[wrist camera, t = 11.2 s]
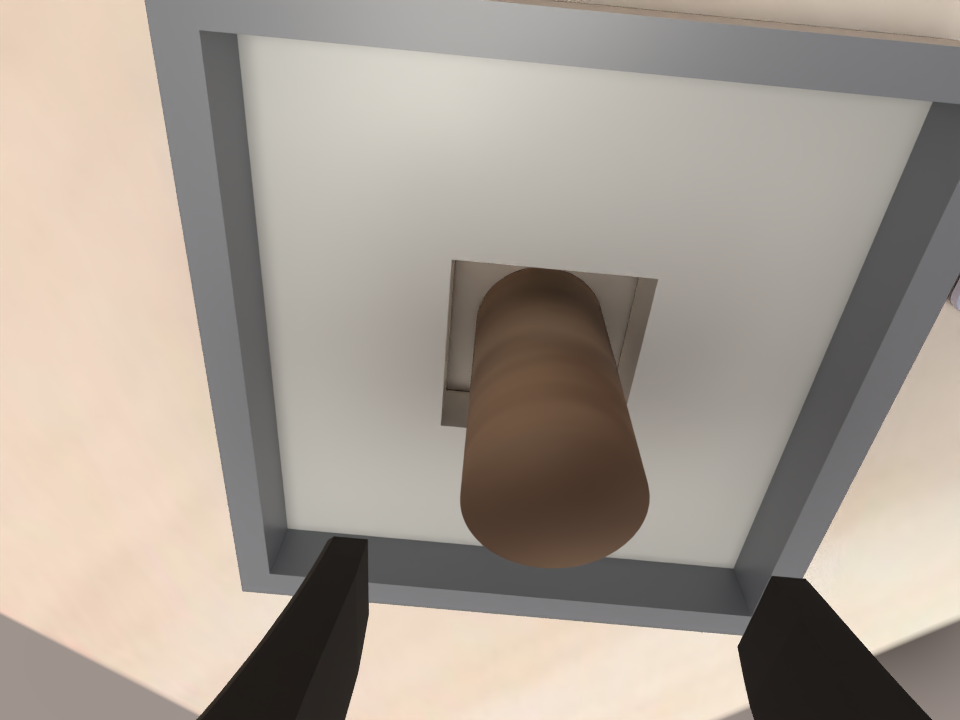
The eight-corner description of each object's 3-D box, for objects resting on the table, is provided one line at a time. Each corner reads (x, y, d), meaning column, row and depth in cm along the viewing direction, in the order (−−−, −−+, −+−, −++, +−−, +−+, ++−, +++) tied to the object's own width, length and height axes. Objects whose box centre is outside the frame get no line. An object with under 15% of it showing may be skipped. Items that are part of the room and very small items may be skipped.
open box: (949, 39, 16) (1070, 57, 12) (735, 547, 25) (771, 638, 22) (220, -33, 16) (138, -34, 12) (279, 506, 25) (242, 591, 22)
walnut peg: (627, 333, 20) (686, 515, 14) (528, 397, 22) (537, 592, 15) (551, 241, 19) (574, 394, 12) (450, 317, 20) (421, 492, 14)
